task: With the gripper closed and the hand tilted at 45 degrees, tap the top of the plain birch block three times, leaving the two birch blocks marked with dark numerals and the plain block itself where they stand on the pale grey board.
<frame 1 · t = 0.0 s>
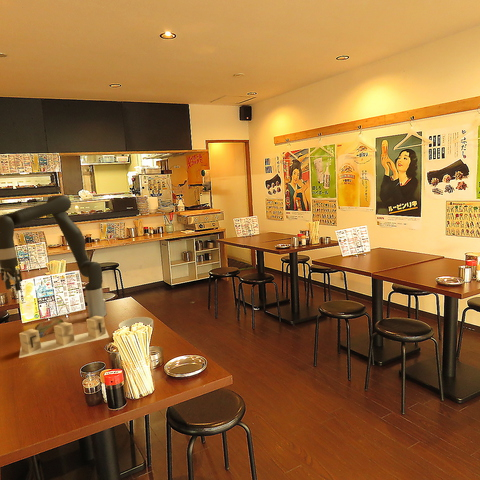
hand: (13, 289, 191), 29 cm above the table, tool pointing down, fingers open, 8 cm apart
board: (65, 344, 195), on the table
marked block 7: (31, 349, 188), point 1 cm above the table, touching board
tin: (50, 335, 208), on the table
marked block 1: (97, 335, 201), point 1 cm above the table, touching board
plain block: (65, 342, 194), point 1 cm above the table, touching board
cereal bowl: (137, 336, 199), on the table
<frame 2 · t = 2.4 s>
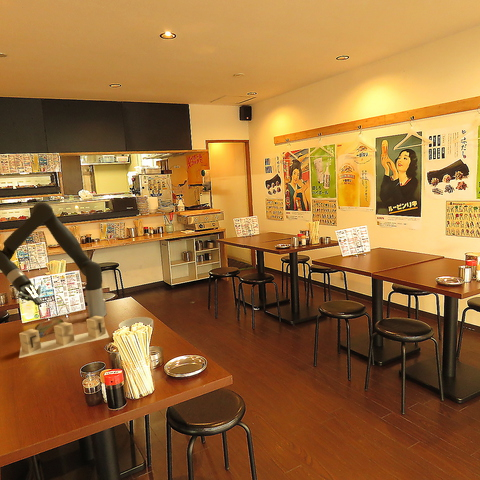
hand: (39, 304, 197), 20 cm above the table, tool tilted 45°, fingers closed
nothing on the table moved.
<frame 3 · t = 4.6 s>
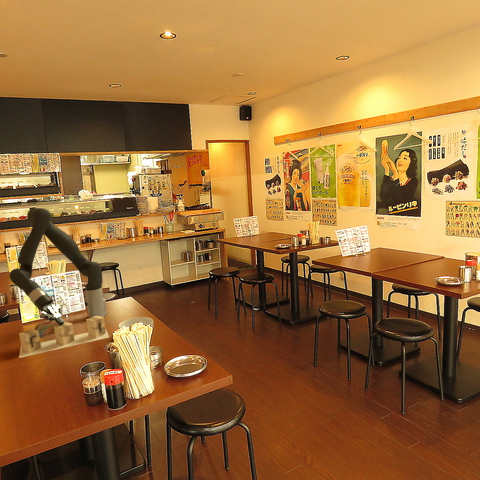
hand: (62, 323, 193), 11 cm above the table, tool tilted 45°, fingers closed
plain block: (65, 342, 194), point 1 cm above the table, touching board, gripper
everything else where it was.
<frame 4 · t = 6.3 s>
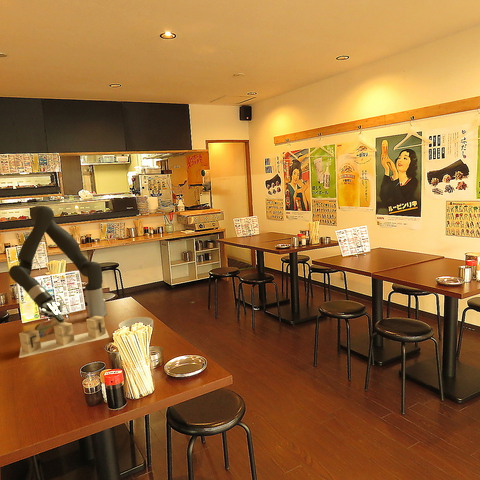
hand: (62, 320, 193), 12 cm above the table, tool tilted 45°, fingers closed
plain block: (65, 342, 194), point 1 cm above the table, touching board
everything else where it was.
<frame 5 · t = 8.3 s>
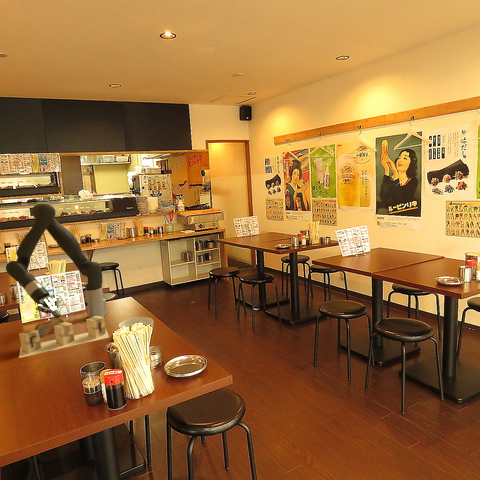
hand: (59, 316, 193), 14 cm above the table, tool tilted 45°, fingers closed
nothing on the table moved.
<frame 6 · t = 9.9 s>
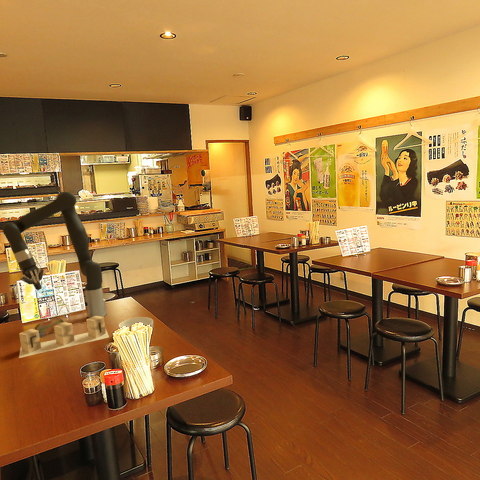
hand: (39, 289, 206), 25 cm above the table, tool tilted 20°, fingers closed
nothing on the table moved.
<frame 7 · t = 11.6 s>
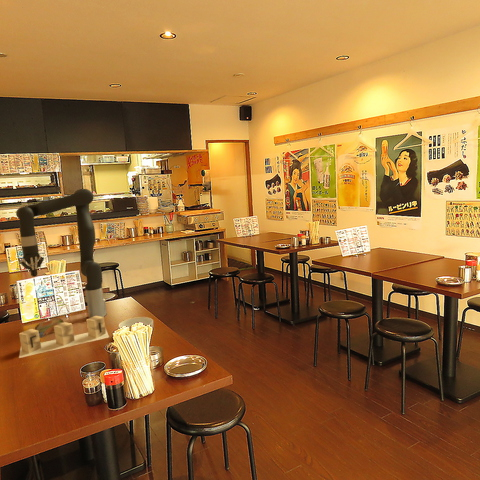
hand: (34, 276, 210), 31 cm above the table, tool pointing down, fingers closed
nothing on the table moved.
at the end: plain block moved 0.0 cm from its start; plain block tilted 0°; marked block 7 moved 0.0 cm from its start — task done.
